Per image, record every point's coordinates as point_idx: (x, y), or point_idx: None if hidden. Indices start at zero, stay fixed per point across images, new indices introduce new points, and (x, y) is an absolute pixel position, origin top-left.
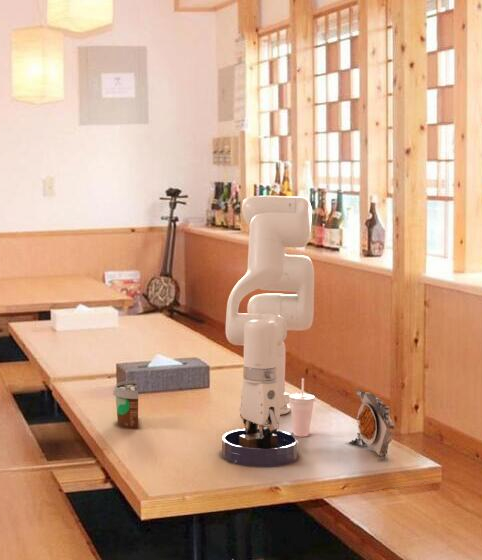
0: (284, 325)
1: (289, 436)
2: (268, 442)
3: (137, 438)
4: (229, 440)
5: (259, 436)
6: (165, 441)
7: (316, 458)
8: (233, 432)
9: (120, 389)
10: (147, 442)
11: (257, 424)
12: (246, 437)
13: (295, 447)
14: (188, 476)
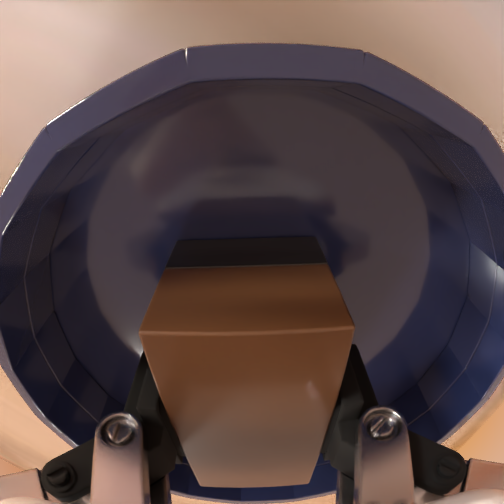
0: None
1: (298, 80)
2: (369, 394)
3: (9, 445)
4: (99, 421)
5: (284, 444)
6: (21, 434)
7: (489, 58)
8: (67, 432)
9: None
10: (34, 454)
11: (147, 484)
12: (260, 482)
13: None
14: (325, 497)
